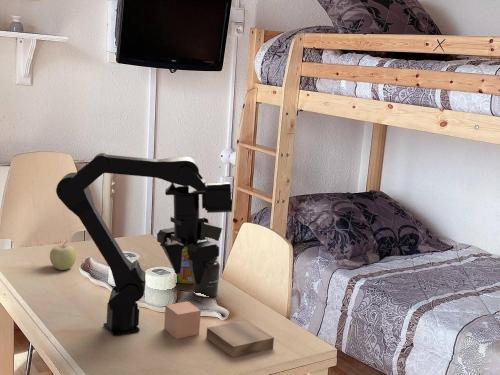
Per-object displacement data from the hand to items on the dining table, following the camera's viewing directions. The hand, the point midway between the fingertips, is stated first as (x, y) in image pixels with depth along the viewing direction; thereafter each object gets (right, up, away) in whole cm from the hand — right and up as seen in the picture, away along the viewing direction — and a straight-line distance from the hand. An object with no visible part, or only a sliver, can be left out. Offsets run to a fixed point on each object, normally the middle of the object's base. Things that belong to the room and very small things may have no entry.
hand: (187, 278), depth 148 cm
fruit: (-40, -3, +38) cm, 56 cm away
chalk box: (-3, -6, +38) cm, 39 cm away
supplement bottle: (+2, -8, +28) cm, 29 cm away
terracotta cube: (-2, -13, +2) cm, 13 cm away
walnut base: (+12, -14, -2) cm, 19 cm away
